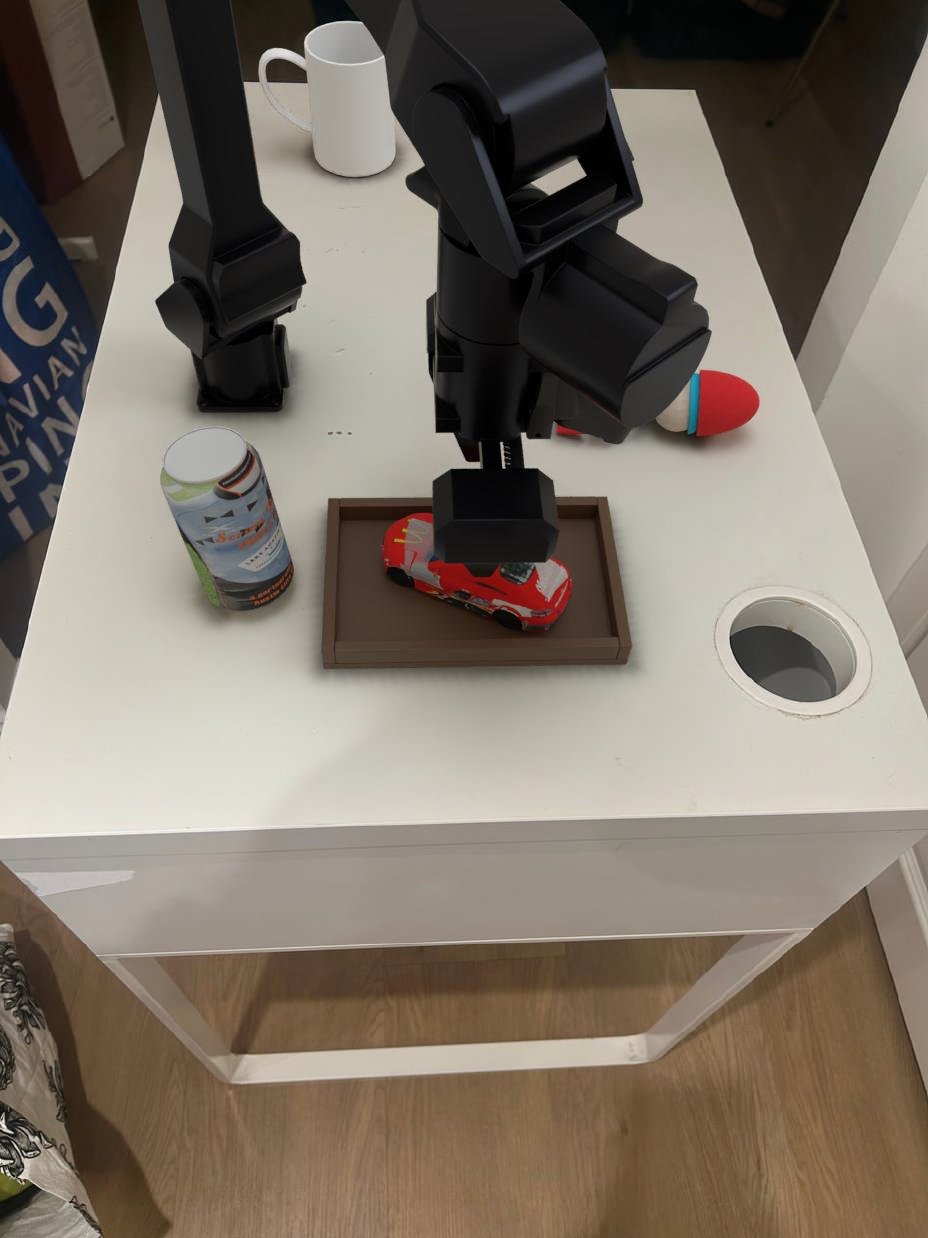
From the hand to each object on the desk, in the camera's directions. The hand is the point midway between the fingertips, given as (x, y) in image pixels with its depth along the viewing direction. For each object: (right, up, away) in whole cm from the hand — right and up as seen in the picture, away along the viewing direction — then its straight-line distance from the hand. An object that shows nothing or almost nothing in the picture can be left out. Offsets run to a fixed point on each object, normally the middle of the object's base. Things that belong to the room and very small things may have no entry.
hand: (477, 515), depth 60 cm
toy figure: (+14, +9, +16) cm, 23 cm away
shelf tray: (0, -4, +6) cm, 8 cm away
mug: (-14, +39, +35) cm, 54 cm away
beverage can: (-16, -4, +6) cm, 17 cm away
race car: (0, -4, +6) cm, 7 cm away
